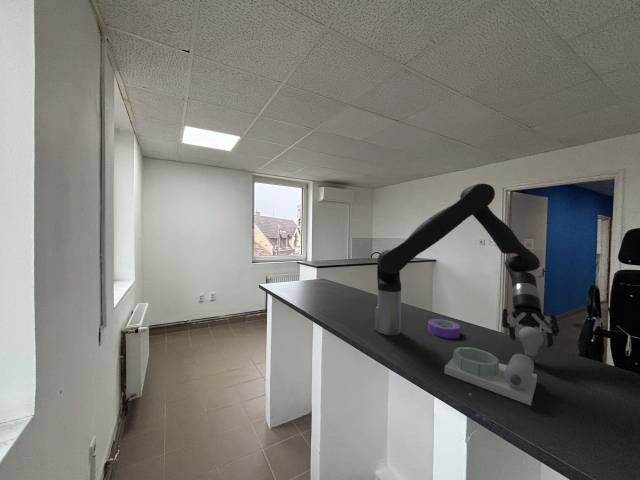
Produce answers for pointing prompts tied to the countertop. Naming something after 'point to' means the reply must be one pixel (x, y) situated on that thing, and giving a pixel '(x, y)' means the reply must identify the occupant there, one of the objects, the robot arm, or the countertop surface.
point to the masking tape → (444, 328)
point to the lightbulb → (531, 341)
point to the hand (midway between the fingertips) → (530, 342)
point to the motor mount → (495, 373)
